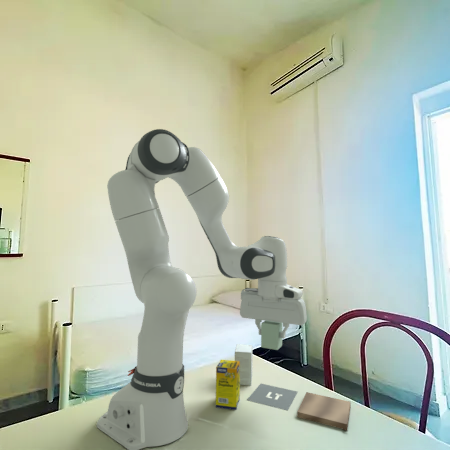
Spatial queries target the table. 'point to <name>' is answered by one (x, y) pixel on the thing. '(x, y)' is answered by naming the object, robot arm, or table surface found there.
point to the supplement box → (227, 384)
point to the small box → (244, 363)
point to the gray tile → (273, 396)
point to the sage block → (271, 335)
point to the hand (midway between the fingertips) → (271, 336)
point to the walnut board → (325, 410)
